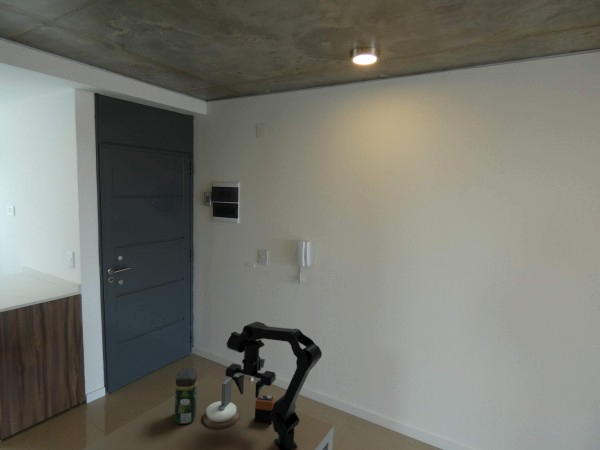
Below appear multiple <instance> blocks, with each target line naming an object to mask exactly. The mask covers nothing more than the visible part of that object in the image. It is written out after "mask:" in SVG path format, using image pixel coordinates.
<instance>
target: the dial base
mask: <svg viewBox="0 0 600 450" xmlns="http://www.w3.org/2000/svg"><path fill="white" fill-rule="evenodd" d="M206 410H207V408H205V410H204V411H203V413H202V422H203V424H204V425H205V426H207V427H209V428H211V429H218V430H219V429H220V430H221V429H226V428H229V427H232V426H234V425H236V423H237V422H238V421H239V420H240V410H239V409H238V407H236V415H235V416H234V417H233V418H232V419H231V420H228V421H225V422H214V421H211V420H209V419H208V418H207V416H206Z"/></svg>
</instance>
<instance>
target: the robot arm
mask: <svg viewBox="0 0 600 450" xmlns="http://www.w3.org/2000/svg"><path fill="white" fill-rule="evenodd" d="M264 339H265V340H270V341H280V342H285V343H286V342H287V343H288V344H289V345H290V347H291V351H292V353H293V355H294V356H295V357H296V363H295V365H296V369H295V371H294V374H293V375H292V377H291V380H290V382H289V384H288V387H287V388H286V390H285V393H284V395H282V396H281V397H280V398H279V399H277V400H276V401H274V406H273V409H272V410H271V412H272V413H271V418H272V427H273V431H274V432H275V433H276V434H277V438H275V439H274V440H273V443H274V444H275V445H276V446H277V449H278V450H294V449H297V448H298V445H297V443H296V442H295V428H296V426H298V425H299V423H300V421H301V419H300V418H299V415H297V413H296V408H297V406H296V401H297V399H298V397H299V395H300V393H301V390H302V389H303V386H304V384H305V382H306V380H307V378H308V375H310V374H309V373H310V372H311V370H312V369H313V368H314V367H315V366H316V365H317V363H318V362H319V361H320V359H322V356H323V353H322V350H321V348H320V346H319V345H317V344H316V343H315V342H314V341H313V339H311V338H310V337H309V336H307V335H305V334H304V333H303V332H302V331H301V330H300V329H299V328H288V327H287V328H286V327H279V326H278V327H276V326H269V325H267V324H265V323H263V322H260V321H254V322H251V323H249V324H246V325H244V326H243V328H242V332H240V333H239V332H236V331H233V332H231V333H230V335H229V337H228V339H227V341H226V347H227V349H228V350H230V351H234V352H236V353H239V354H241V353H243V359H242V360H241V363H242V365H241V364H237V363H232V364H230V365H229V366H228V367H227V368H226V369H225V371H224V372H225V374H224V375H225V376H226V377H227V378H231V379H232V381H234V383H235V384H236V386H237V388H238V391H239V393H240V395H243V394H244V385H245V384H244V380H245V377H250V378H256V379H258V381H257V382H256V383H255V392H254V393H255V399H257V397H258V395H260V393H261V390H262V388H263V387H264V386H266V387H267V386H268V387H270V386H271V385H272V384H274V382H275V381H276V379H277V378H276V377H277V375H276V372H274V371H269V370H265V371H264V372H262V373H261V372H260V371H261V370H262V368H264V365H265V362H266V361H265V360H266V359H264V358H261V356H260V349H261V348H262V347H264V346H265V343H264V342H263V341H262V340H264ZM300 344H301V345H303V346H304V348H302V347H301V345H300ZM242 367H243V368H242Z"/></svg>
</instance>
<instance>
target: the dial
mask: <svg viewBox="0 0 600 450" xmlns="http://www.w3.org/2000/svg"><path fill="white" fill-rule="evenodd" d="M232 382H233V380H232V377H227V378H226V379H225V380H224V381H223V382H222V383H221V398H220V401H219V400H218V401H215V402H213V403H211V404H209V405H208V406H207V407H206V409H207V410H206V409H205V410H206V416H207V418H208V419H209V420H211V421H214V422H225V421H228V420H231V419H232V418H233V417H234V416H235V415H236V408H237V406H236V404H234V403H233V402H231V401H232V400H231V399H232Z"/></svg>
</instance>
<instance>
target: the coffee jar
mask: <svg viewBox="0 0 600 450" xmlns="http://www.w3.org/2000/svg"><path fill="white" fill-rule="evenodd" d="M174 384H175V386H174V387H175V388H174V390H175V392H174V393H175V394H174V419H173V421H174V423H176V424H179V425H186V424H190V423H192V422H193V421H195V418H196V413H197V386H198V385H197V384H198V372H197V370H196V369H195V368H193V367H183V368H182V369H180V370H179V371H178V372H177V375H176V376H175V383H174Z"/></svg>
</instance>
